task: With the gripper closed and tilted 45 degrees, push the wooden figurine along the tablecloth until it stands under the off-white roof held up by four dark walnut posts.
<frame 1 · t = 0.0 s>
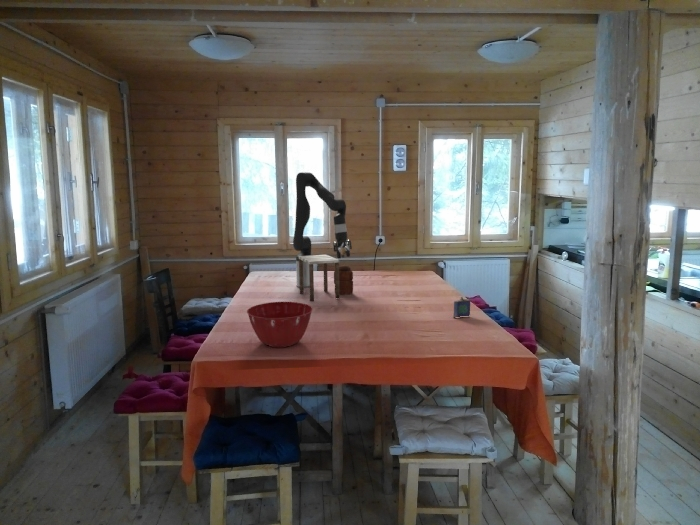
hand: (343, 257, 341), 22 cm above the table, tool pointing down, fingers open, 8 cm apart
mixing bowl: (280, 343, 242), on the table
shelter: (319, 295, 336), on the table
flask: (461, 317, 283), on the table
wooden figurine: (343, 294, 342), on the table
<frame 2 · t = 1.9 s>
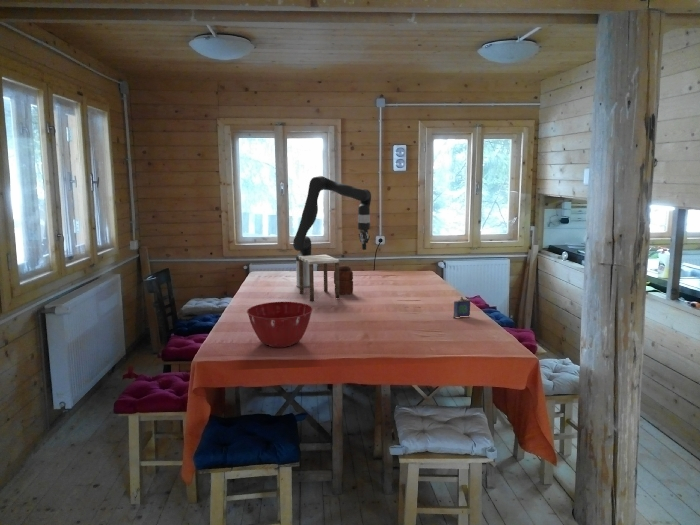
hand: (364, 249, 343), 27 cm above the table, tool pointing down, fingers closed
nothing on the table moved.
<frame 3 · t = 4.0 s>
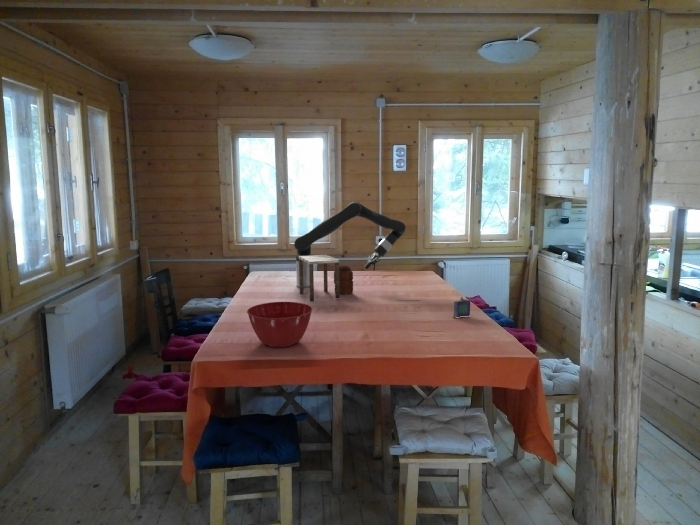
hand: (365, 268, 345), 15 cm above the table, tool tilted 45°, fingers closed
nothing on the table moved.
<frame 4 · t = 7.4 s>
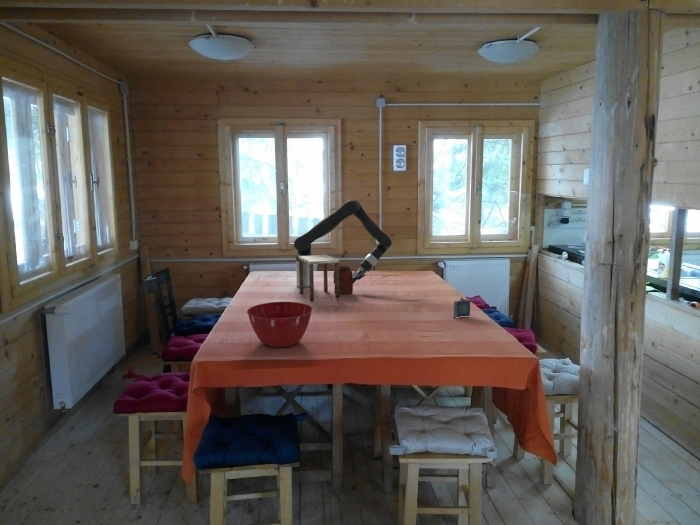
hand: (351, 283, 343), 6 cm above the table, tool tilted 45°, fingers closed
wooden figurine: (343, 294, 342), on the table, touching gripper
everything else where it was.
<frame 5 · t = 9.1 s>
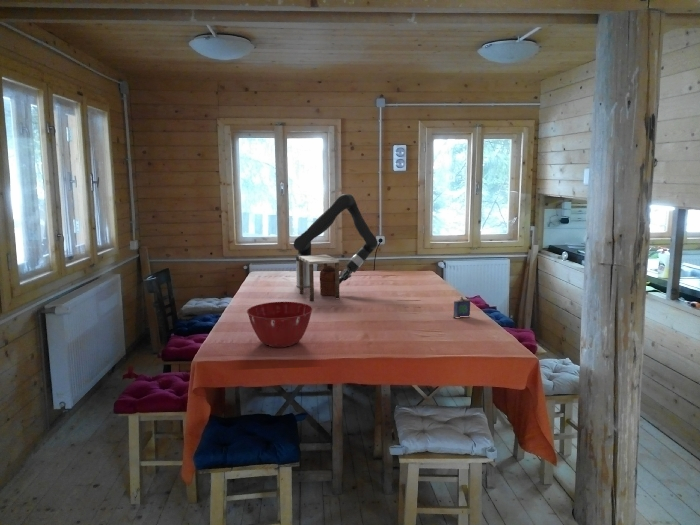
hand: (336, 284, 339), 6 cm above the table, tool tilted 45°, fingers closed
wooden figurine: (329, 295, 339), on the table, touching gripper
everything else where it was.
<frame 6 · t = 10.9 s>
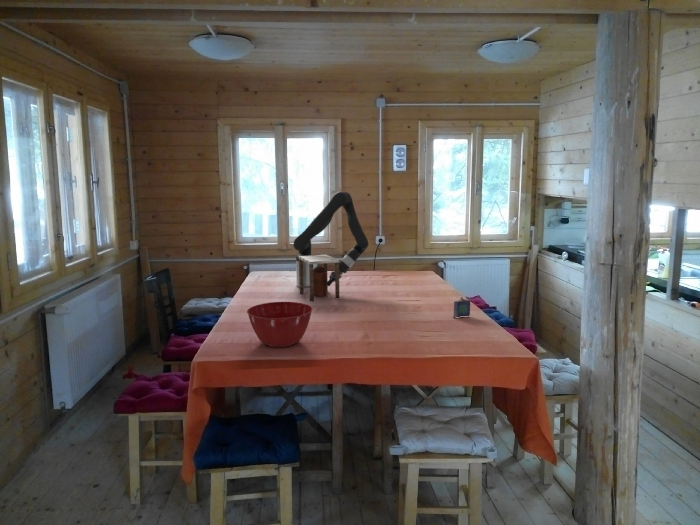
hand: (327, 285, 337), 6 cm above the table, tool tilted 45°, fingers closed
wooden figurine: (319, 295, 338), on the table, touching gripper
everything else where it was.
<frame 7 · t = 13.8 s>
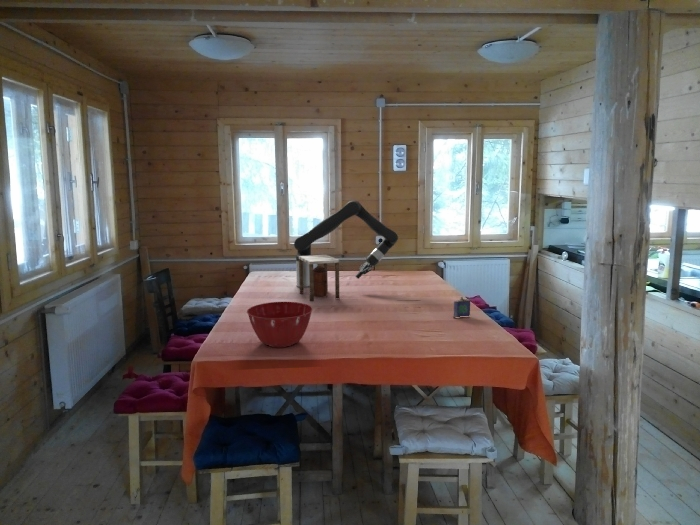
hand: (356, 277, 344), 9 cm above the table, tool tilted 45°, fingers closed
wooden figurine: (319, 295, 338), on the table
everything else where it was.
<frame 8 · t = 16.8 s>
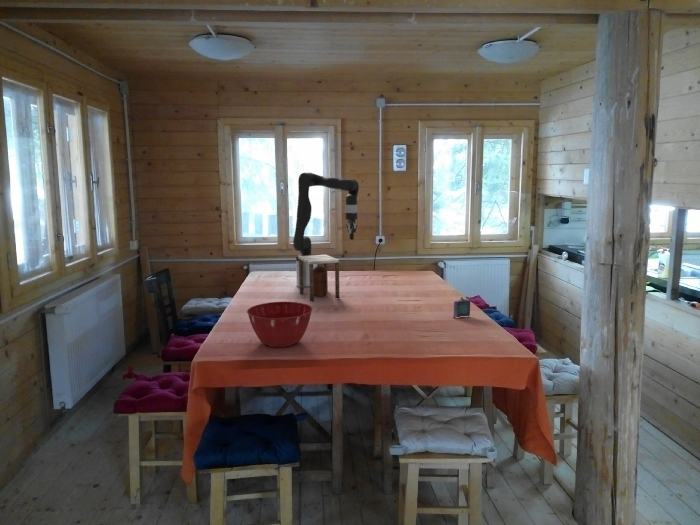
hand: (351, 239, 345), 33 cm above the table, tool pointing down, fingers closed
nothing on the table moved.
at the end: wooden figurine inside the target area (2.1 cm from its centre), on the table; wooden figurine tilted 0° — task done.
